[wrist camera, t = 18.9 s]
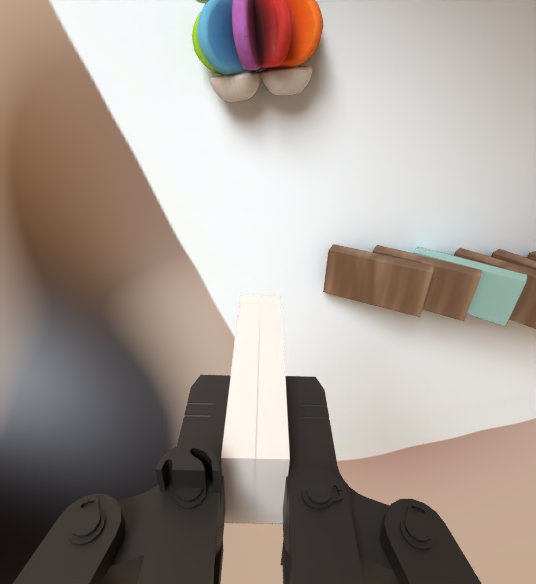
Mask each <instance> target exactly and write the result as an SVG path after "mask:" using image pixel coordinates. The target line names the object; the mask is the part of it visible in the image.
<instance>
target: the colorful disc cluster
mask: <svg viewBox="0 0 536 584" xmlns="http://www.w3.org/2000/svg"><path fill="white" fill-rule="evenodd" d="M196 1H197V2H200V3H206V4H205V6H204V7H203V9H202V11H201V12H200V14H199V15H198V17H197V19H196V21H195V24H194V27H193V32H192V40H193V45H194V50H195V52H196V54H197V56H198V58H199V59H200V60H201V62H202V63H203V64H204V65H205V66H206V67H208V68H209V69H211V70H212V71H214V72H215V73H218V74H222V76H220V77H214V78H211V79H210V81H211V84H212V87H213V89H214V90H215V92H216V93H217V94H218V95H219V96H220V97H221V98H222V99H224V100H225V101H228V102H233V101H242V100H247V99H250V98H251V97H252V96H253V95H254V94H255V93H256V91H257V90H258V88H259V86H260V82H261V79H262V80H263V82H264V84H265V86H266V87H267V88H268V90H269V91H270V92H271V93H273V94H275V95H292V94H298V93H300V92H301V91H302V90H304V88H305V87H306V86H307V84H308V83H309V81H310V78H311V75H312V67H311V66H303V67H302V66H298V65H300V64H302V63H303V62H305V61H306V60H307V59H308V58H309V57H310V56H311V55H312V54H313V53H314V51H315V50H316V48H317V46H318V44H319V41H320V38H321V34H322V29H323V19H322V15H321V11H320V9H319V6H318V4H317V2H316V1H315V0H196ZM261 67H263V68H266V69H265V71H261V72H256V71H255V70H259V69H260V68H261Z"/></svg>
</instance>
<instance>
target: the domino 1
mask: <svg viewBox="0 0 536 584" xmlns="http://www.w3.org/2000/svg"><path fill="white" fill-rule="evenodd" d="M433 270H434V266H433V265H428V264H424V263H419V262H414V261H409V260H405V259H400V258H395V257H391V256H386V255H381V254H376V253H372V252H367V251H362V250H358V249H353V248H348V247H343V246H339V245H334V244H333V245H332V247H331V248H330V249H329V252H328V260H327V267H326V275H325V283H324V291H323V292H326V293H329V294H333V295H337V296H341V297H345V298H349V299H352V300H356V301H360V302H364V303H368V304H372V305H375V306H379V307H383V308H387V309H391V310H395V311H398V312H402V313H406V314H410V315H414V316H418V317H420V314H421V311H422V307H423V304H424V301H425V297H426V294H427V291H428V287H429V284H430V281H431V277H432V274H433Z"/></svg>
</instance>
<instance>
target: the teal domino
mask: <svg viewBox="0 0 536 584" xmlns="http://www.w3.org/2000/svg"><path fill="white" fill-rule="evenodd" d="M414 254H417V255H421V256H425V257H430V258H434V259H438V260H442V261H447V262H451V263H455V264H459V265H463V266H468V267H472V268H476V269H480V270H482V273H481V278H480V281H479V283H478V286H477V288H476V291H475V294H474V296H473V299H472V301H471V304H470V306H469V309H468V311H467V314H469V315H472V316H475V317H478V318H481V319H485V320H488V321H491V322H494V323H497V324H500V325H503V326H506V324H507V322H508V320H509V318H510V316H511V313H512V311H513V309H514V307H515V305H516V303H517V301H518V298H519V296H520V294H521V292H522V290H523V288H524V286H525V284H526V280H527V275H526V274H522V273H518V272H514V271H510V270H506V269H502V268H498V267H495V266H491V265H487V264H483V263H479V262H475V261H471V260H468V259H464V258H460V257H456V256H452V255H448V254H444V253H441V252H437V251H433V250H429V249H425V248H421V247H418V248H417V249H416V250H415V251H414Z"/></svg>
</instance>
